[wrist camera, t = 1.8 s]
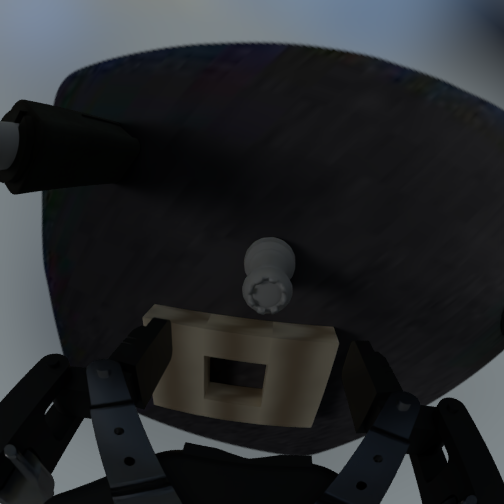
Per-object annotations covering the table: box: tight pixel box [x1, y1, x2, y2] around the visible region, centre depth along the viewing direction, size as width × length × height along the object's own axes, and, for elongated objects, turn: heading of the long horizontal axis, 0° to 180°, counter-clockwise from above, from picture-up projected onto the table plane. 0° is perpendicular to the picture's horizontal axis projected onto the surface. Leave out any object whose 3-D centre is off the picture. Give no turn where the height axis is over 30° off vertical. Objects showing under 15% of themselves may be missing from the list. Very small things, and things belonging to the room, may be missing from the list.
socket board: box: [143, 304, 339, 428], centre depth 26 cm, size 18×12×3 cm, turn 85°
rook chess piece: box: [242, 237, 295, 315], centre depth 21 cm, size 4×4×8 cm
